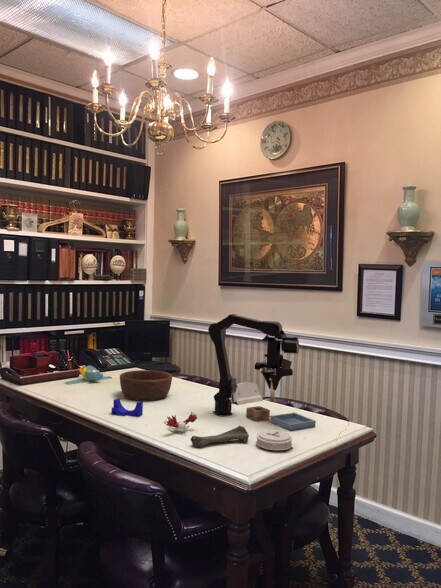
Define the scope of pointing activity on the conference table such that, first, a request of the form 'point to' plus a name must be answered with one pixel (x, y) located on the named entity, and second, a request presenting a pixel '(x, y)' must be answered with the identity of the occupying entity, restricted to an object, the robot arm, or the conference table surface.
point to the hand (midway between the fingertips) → (272, 389)
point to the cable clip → (121, 411)
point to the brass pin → (272, 392)
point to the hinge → (246, 393)
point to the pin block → (257, 413)
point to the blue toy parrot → (88, 375)
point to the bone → (221, 437)
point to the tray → (292, 421)
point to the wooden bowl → (145, 384)
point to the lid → (274, 440)
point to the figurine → (179, 423)
